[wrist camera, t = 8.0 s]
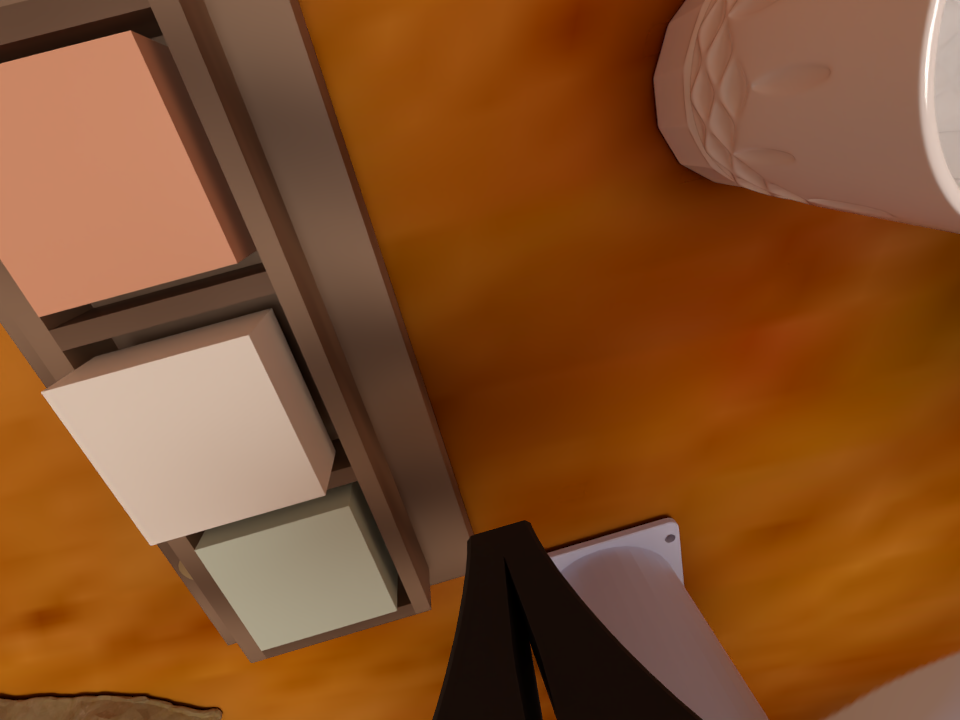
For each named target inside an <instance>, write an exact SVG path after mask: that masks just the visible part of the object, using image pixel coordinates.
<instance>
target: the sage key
mask: <svg viewBox="0 0 960 720" xmlns="http://www.w3.org/2000/svg"><path fill="white" fill-rule="evenodd" d="M194 551H195V552H196V554H197V555H198V557H199V558H200V560H201V561H202V563H203V564H204V566H205V567H206V569H207V570H208V572H209V573H210V575H211V576H212V578H213V579H214V581H215V582H216V584H217V585H218V587H219V588H220V590H221V591H222V593H223V594H224V596H225V597H226V599H227V600H228V602H229V603H230V605H231V606H232V608H233V609H234V611H235V612H236V614H237V615H238V617H239V618H240V620H241V621H242V623H243V624H244V626H245V627H246V629H247V630H248V632H249V633H250V635H251V636H252V638H253V639H254V641H255V642H256V644H257V645H258V647H259V648H260V650H261V651H263V650H267V649H270V648H274V647H277V646H280V645H284V644H287V643H290V642H294V641H297V640H301V639H304V638H307V637H311V636H314V635H317V634H321V633H324V632H328V631H331V630H334V629H338V628H341V627H344V626H348V625H351V624H355V623H358V622H361V621H365V620H368V619H371V618H375V617H378V616H382V615H385V614H388V613H392V612H395V611H397V589H398V572H397V570H396V567H395V565H394V563H393V560H392V558H391V556H390V554H389V551H388V549H387V547H386V544H385V542H384V540H383V537H382V535H381V533H380V531H379V528H378V526H377V524H376V521H375V519H374V517H373V515H372V512H371V510H370V508H369V505H368V503H367V501H366V499H365V496H364V494H363V492H362V489H361V487H360V485H359V482H358V481H356V482H352V483H349V484H345V485H342V486H338V487H335V488H331V489H328V490H327V491H326V495H325V496H322V497H318V498H315V499H311V500H308V501H304V502H301V503H297V504H294V505H290V506H287V507H284V508H280V509H277V510H273V511H270V512H266V513H263V514H259V515H256V516H252V517H249V518H245V519H242V520H238V521H235V522H231V523H228V524H224V525H221V526H218V527H214V528H211V529H207V530H205V532H204V533H203V535H202V537H201V539H200V541H199V543H198V545H197V547H196V549H195V550H194Z"/></svg>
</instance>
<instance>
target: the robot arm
mask: <svg viewBox="0 0 960 720" xmlns="http://www.w3.org/2000/svg"><path fill="white" fill-rule="evenodd" d="M668 535H669V536H668ZM529 641H530V642H529ZM530 644H531V647H532V650H533V652H534V655H535V658H536V661H537V664H538V667H539V670H540V673H541V675H542V678H543V681H544V684H545V687H546V690H547V693H548V695H549V698H550V701H551V704H552V707H553V710H554V713H555V715H556V718H557V720H769V719H768V717H767V716H766V714H765V713H764V711H763V709H762V708H761V706H760V705H759V703H758V702H757V700H756V699H755V697H754V695H753V694H752V692H751V691H750V689H749V688H748V686H747V684H746V683H745V681H744V680H743V678H742V677H741V675H740V673H739V672H738V670H737V669H736V667H735V666H734V664H733V663H732V661H731V659H730V658H729V656H728V655H727V653H726V652H725V650H724V648H723V647H722V645H721V644H720V642H719V641H718V639H717V637H716V636H715V634H714V633H713V631H712V630H711V628H710V627H709V625H708V623H707V622H706V620H705V619H704V617H703V616H702V614H701V612H700V611H699V609H698V608H697V606H696V605H695V603H694V601H693V600H692V598H691V597H690V595H689V594H688V592H687V590H686V589H685V587H684V579H683V568H682V557H681V546H680V535H679V526H678V524H677V523H676V521H675V520H674V519H672V518H664V519H661V520H657V521H654V522H650V523H647V524H644V525H640V526H637V527H633V528H630V529H627V530H623V531H620V532H617V533H613V534H610V535H606V536H603V537H600V538H596V539H593V540H589V541H586V542H583V543H579V544H576V545H573V546H569V547H566V548H562V549H559V550H556V551H552V552H549V553H547V552H546V551H545V549H544V547H543V546H542V544H541V543H540V541H539V539H538V537H537V536H536V534H535V532H534V530H533V528H532V526H531V523H529V522H527V521H525V520H524V521H520V522H517V523H513V524H510V525H507V526H503V527H500V528H496V529H493V530H489V531H486V532H483V533H479V534H476V535H472V536H470V538H469V539H468V541H467V561H466V572H465V580H464V587H463V595H462V600H461V606H460V611H459V617H458V622H457V628H456V633H455V637H454V641H453V646H452V650H451V654H450V658H449V662H448V666H447V670H446V674H445V678H444V682H443V686H442V689H441V693H440V696H439V700H438V703H437V707H436V710H435V713H434V716H433V719H432V720H543V719H542V713H541V707H540V701H539V695H538V689H537V683H536V677H535V671H534V665H533V659H532V653H531V647H530Z"/></svg>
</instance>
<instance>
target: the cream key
mask: <svg viewBox="0 0 960 720" xmlns="http://www.w3.org/2000/svg"><path fill="white" fill-rule="evenodd" d="M41 393H42V394H43V396H44V397H45V399H46V400H47V401H48V403H49V404H50V406H51V407H52V408H53V410H54V411H55V413H56V414H57V415H58V417H59V418H60V420H61V421H62V422H63V424H64V425H65V427H66V428H67V429H68V431H69V432H70V434H71V435H72V436H73V438H74V439H75V441H76V442H77V443H78V445H79V446H80V448H81V449H82V450H83V452H84V453H85V455H86V456H87V457H88V459H89V460H90V462H91V463H92V464H93V466H94V467H95V469H96V470H97V471H98V473H99V474H100V476H101V477H102V478H103V480H104V481H105V483H106V484H107V485H108V487H109V488H110V490H111V491H112V492H113V494H114V495H115V497H116V498H117V499H118V501H119V502H120V504H121V505H122V506H123V508H124V509H125V511H126V512H127V513H128V515H129V516H130V518H131V519H132V520H133V522H134V523H135V525H136V526H137V527H138V529H139V530H140V532H141V533H142V534H143V536H144V537H145V539H146V540H147V541H148V543H149V544H150V546H151V545H155V544H158V543H162V542H165V541H169V540H172V539H176V538H179V537H183V536H186V535H190V534H193V533H197V532H200V531H204V530H207V529H211V528H214V527H218V526H221V525H224V524H228V523H231V522H235V521H238V520H242V519H245V518H249V517H252V516H256V515H259V514H263V513H266V512H270V511H273V510H277V509H280V508H284V507H287V506H290V505H294V504H297V503H301V502H304V501H308V500H311V499H315V498H318V497H322V496H325V495H326V491H327V487H328V483H329V478H330V474H331V470H332V466H333V461H334V457H335V453H336V451H335V448H334V446H333V444H332V442H331V439H330V437H329V435H328V433H327V430H326V428H325V426H324V424H323V422H322V419H321V417H320V415H319V413H318V410H317V408H316V406H315V404H314V401H313V399H312V397H311V395H310V392H309V390H308V388H307V386H306V383H305V381H304V379H303V377H302V374H301V372H300V370H299V368H298V365H297V363H296V361H295V359H294V357H293V354H292V352H291V350H290V348H289V345H288V343H287V341H286V339H285V336H284V334H283V332H282V330H281V327H280V325H279V323H278V321H277V318H276V316H275V314H274V312H273V309H272V308H270V309H266V310H262V311H259V312H255V313H251V314H248V315H244V316H240V317H237V318H233V319H230V320H226V321H222V322H219V323H215V324H211V325H208V326H204V327H200V328H197V329H193V330H190V331H186V332H182V333H179V334H175V335H171V336H168V337H164V338H160V339H157V340H153V341H150V342H146V343H142V344H139V345H135V346H131V347H128V348H124V349H120V350H117V351H113V352H110V353H106V354H102V355H99V356H95V357H94V358H92V359H91V360H89V361H88V362H86V363H85V364H83V365H82V366H80V367H79V368H77V369H76V370H74V371H72V372H71V373H69V374H68V375H66V376H65V377H63V378H62V379H60V380H59V381H57V382H56V383H54V384H53V385H51V386H50V387H48V388H47V389H45V390H44V391H42V392H41Z"/></svg>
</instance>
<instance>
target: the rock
mask: <svg viewBox="0 0 960 720" xmlns="http://www.w3.org/2000/svg"><path fill="white" fill-rule="evenodd" d="M221 718H222V712H221V710H219V709H218V708H212V709H209V710H196V709H193V708H189V707H185V706H174V705H173V704H172V703H170V702H166V701H162V700H155V699H149V698H147V697H145V696H138V697H129V696H110V695H101V696H79V697H74V698H57V697H52V696H48V697H34V698H30V699H27V700H10V699H1V698H0V720H221Z"/></svg>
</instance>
